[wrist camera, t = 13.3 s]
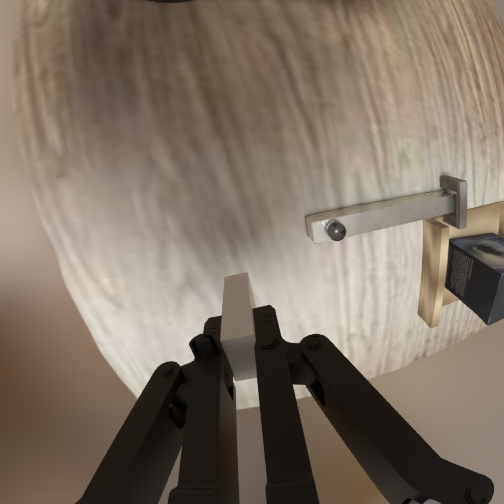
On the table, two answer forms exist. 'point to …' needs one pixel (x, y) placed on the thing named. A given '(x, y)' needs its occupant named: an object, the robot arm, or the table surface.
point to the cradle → (437, 241)
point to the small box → (478, 274)
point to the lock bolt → (379, 215)
